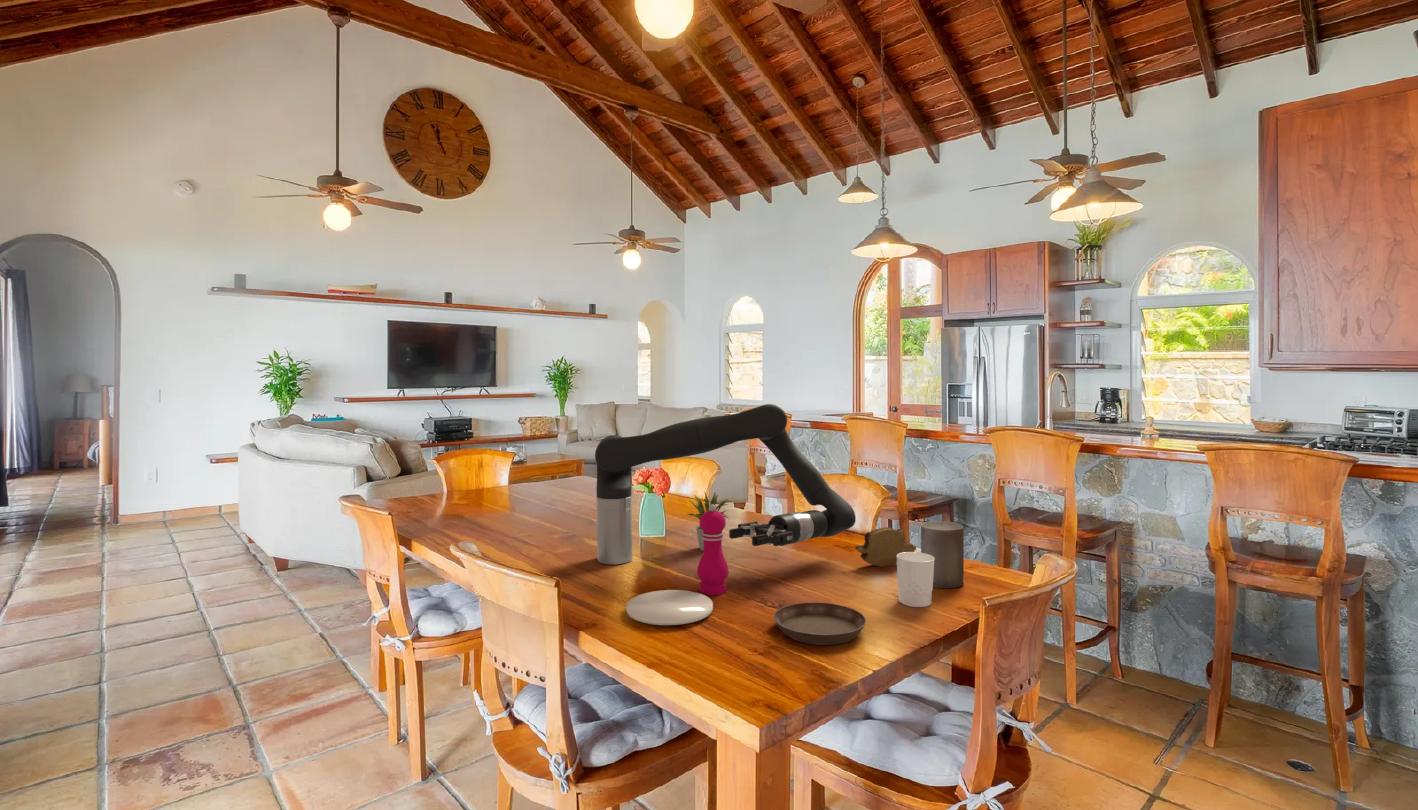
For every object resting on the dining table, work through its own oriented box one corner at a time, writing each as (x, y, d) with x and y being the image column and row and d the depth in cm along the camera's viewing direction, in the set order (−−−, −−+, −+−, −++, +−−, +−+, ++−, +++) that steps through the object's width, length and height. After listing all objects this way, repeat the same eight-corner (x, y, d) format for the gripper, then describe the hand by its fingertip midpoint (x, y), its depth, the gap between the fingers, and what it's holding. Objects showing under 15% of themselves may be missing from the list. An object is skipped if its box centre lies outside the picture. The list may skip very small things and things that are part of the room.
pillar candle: (970, 581, 159) (970, 519, 158) (953, 591, 152) (953, 526, 151) (931, 574, 166) (931, 513, 165) (913, 583, 159) (913, 520, 158)
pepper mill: (692, 593, 152) (691, 506, 151) (704, 584, 158) (703, 500, 157) (721, 597, 149) (721, 508, 148) (733, 587, 156) (732, 502, 155)
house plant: (735, 556, 181) (735, 497, 180) (684, 556, 182) (684, 497, 181) (734, 543, 196) (734, 487, 195) (687, 543, 196) (686, 487, 195)
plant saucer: (770, 615, 139) (770, 600, 139) (856, 615, 138) (856, 601, 138) (776, 650, 121) (776, 634, 121) (875, 651, 121) (875, 634, 121)
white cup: (914, 610, 140) (915, 563, 140) (888, 599, 147) (888, 554, 147) (942, 604, 144) (942, 558, 143) (915, 593, 151) (915, 550, 150)
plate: (612, 607, 143) (612, 599, 143) (685, 592, 152) (685, 584, 152) (650, 636, 127) (650, 626, 127) (729, 617, 137) (729, 608, 137)
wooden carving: (906, 560, 178) (907, 522, 177) (917, 564, 173) (917, 526, 173) (852, 566, 172) (852, 527, 172) (861, 571, 168) (861, 531, 168)
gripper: (772, 508, 173) (722, 516, 164) (811, 518, 162) (761, 527, 152) (772, 537, 174) (722, 547, 164) (811, 549, 162) (761, 560, 153)
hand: (741, 537), depth 158 cm, fingers open, 8 cm apart
